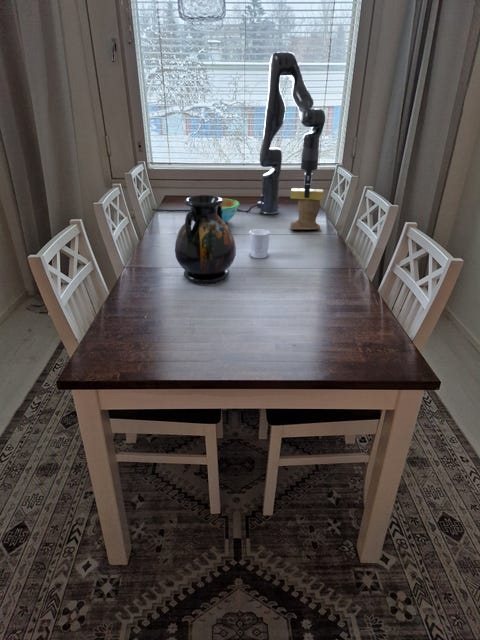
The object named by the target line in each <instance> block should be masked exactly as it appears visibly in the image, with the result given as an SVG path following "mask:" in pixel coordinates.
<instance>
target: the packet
mask: <svg viewBox="0 0 480 640" xmlns="http://www.w3.org/2000/svg"><path fill="white" fill-rule="evenodd" d="M324 191H325V190H324V189H321V188H310V191H309V198H305V197H304V193H305V189H304V187H303V188H300V187H298V188H297V187H292V188H291V190H290V199H293V200H295V199H296V200H299V199H314V200H320V201H323V199H324V194H325V193H324Z"/></svg>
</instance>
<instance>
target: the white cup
mask: <svg viewBox="0 0 480 640" xmlns="http://www.w3.org/2000/svg"><path fill="white" fill-rule="evenodd" d="M270 233H271V232H270V231H269V230H267V229H264V228H255V229H254V228H253V229H251V230H250V231H249V249H250V256H251V258H255V259H265V258H267V257H268V250H269V242H270Z"/></svg>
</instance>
